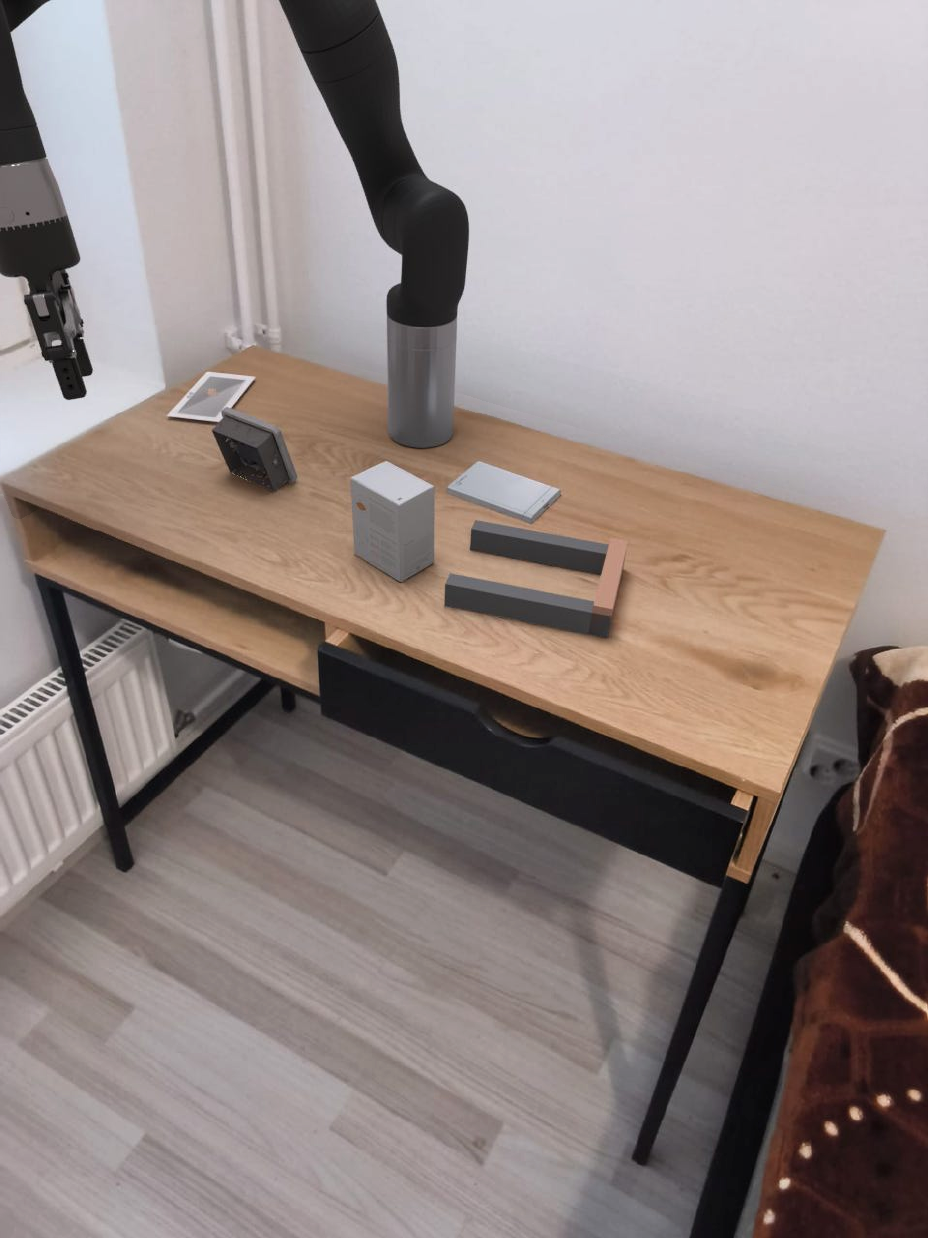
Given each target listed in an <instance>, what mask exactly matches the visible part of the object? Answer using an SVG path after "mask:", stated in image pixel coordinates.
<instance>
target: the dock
mask: <svg viewBox="0 0 928 1238" xmlns="http://www.w3.org/2000/svg"><path fill="white" fill-rule="evenodd" d="M628 544H629V540H626V539H620V538H616V537H615V538H614V537H610V539H609V543H608V544H607V543H603V542H597V541H591V540H588V539H587V540H586V539H581V538H576V537H570V536H565V535H560V534H559V535H558V534H553V533H548V532H543V531H536V530H532V529H525V528H520V527H515V526H511V525H510V526H509V525H505V524H498V523H494V522H489V521H484V520H483V521H482V520H477V519H475V520H474V523H473V524H472V527H471V528H470V544H469V551H473V552H479V553H484V554H489V555H493V556H498V557H499V556H500V557H505V558H510V559H515V560H520V561H527V562H531V563H536V564H543V565H547V566H552V567H558V568H561V569H562V568H563V569H568V570H573V571H578V572H584V573H590V574H595V575H599V576H600V578H599V583H598V586H597V590H596V594H595V598H594V600H588V599H584V598H579V597H573V596H568V595H564V594H558V593H553V592H548V591H544V590H538V589H533V588H528V587H523V586H517V585H512V584H507V583H501V582H497V581H491V580H486V579H482V578H477V577H473V576H466V575H463V574H461V575H460V574H456V573H452V572H449V574H448V577H447V579H446V581H445V583H444V600H443V601H444V602H443V603H444V606H445V607H450V608H456V609H460V610H466V611H469V612H475V613H479V614H483V615H484V614H485V615H489V616H495V617H498V618H503V619H504V618H505V619H509V620H514V621H520V622H525V623H530V624H534V625H539V626H545V627H550V628H554V629H558V630H564V631H568V632H574V633H579V634H584V635H588V636H592V637H593V636H594V637H598V638H603V639H608V636H609V632H610V627H611V624H612V618H613V615H614V614H613V613H614V610H615V606H616V600H617V597H618V592H619V588H620V585H621V584H620V583H621V579H622V576H623V570H624V566H625V561H626V555H627V548H628Z"/></svg>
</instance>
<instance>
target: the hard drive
mask: <svg viewBox="0 0 928 1238" xmlns="http://www.w3.org/2000/svg"><path fill="white" fill-rule="evenodd" d="M561 493H562V489H561V488H557V487H554V486H551V485H548V484H547V483H542V482H540V481H537V480H534V479H532V478H528V477H526V476H522V475H521V474H517V473H514V472H512V471H509V470H505V469H503V468H501V467H500V468H499V467H497V466H494V465H491V464H488V463H485V462H482V461H480V460H478V461H476V462H475V463H474V464H473V465H471V466H470V467H469V468H468V469H467V470H465V471H464V472H463V473H461V474H460V475H459V476H458V477H457V478H456V479H455V480H453V481H452V482H451V483H450V484H448V485H447V488H446V494H447V495H451V496H453V497H456V498H459V499H462V500H464V501H467V502H470V503H473V504H474V505H475V504H476V505H477V506H481V507H483V508H487V509H489V510H491V511H494V512H497V513H500V514H501V515H502V514H503V515H506V516H508V517H511V518H514V519H517V520H518V521H519V520H520V521H522V522H524V523H528V524H533V523H534V522H535V521H536V520H537V519H538V518H539V517H540V516H541V515H542V514H543V513H544V512H545V511H546V510H547V509H548V508H549V507H550V506H551V505H552V504H554V502H555V501H557V499H558V498H560V496H561V495H562V494H561Z"/></svg>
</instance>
